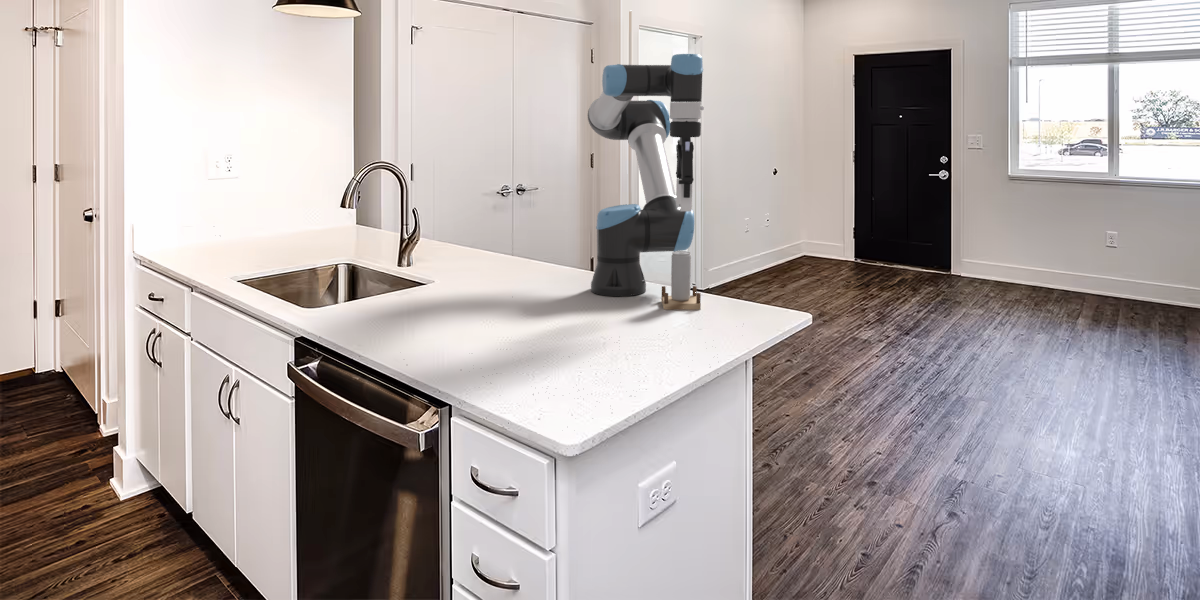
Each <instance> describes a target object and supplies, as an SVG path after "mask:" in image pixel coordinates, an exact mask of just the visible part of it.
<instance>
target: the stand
mask: <svg viewBox="0 0 1200 600" xmlns="http://www.w3.org/2000/svg"><path fill="white" fill-rule="evenodd" d="M666 287H667V286H665V285H663V286H661V297H660V299H661V300H660V301H661V304H662V307H663V310H666V311H667V310H670V311H671V310H672V311H673V310H674V311H675V310H676V311H677V310H681V311H682V310H686V311H688V310H689V311H691V310H701V295H702V294H701V292H697V291H698V290H697V289H698V287H697V286H696V285H693V286H692V295H690V299H689V300H687V301H675V300H673V299H672V298H671V295H669V293H668V292H666V290H667V289H666ZM695 292H696V293H695Z"/></svg>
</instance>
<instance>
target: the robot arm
mask: <svg viewBox="0 0 1200 600" xmlns="http://www.w3.org/2000/svg"><path fill="white" fill-rule="evenodd" d="M703 72H704V68H703V57H702V55H701V54H698V53H678V54H674V55H672V56H671V61H670V64H653V65H652V64H620V63H617V64H609V65H606V66H605V67H604V68H603V71H602V76H601V77H602V80H601V82H602V84H601V85H602V92H601V94H600V96H599V97H598V98H596V99H595V100H594V101H593V102H592V103H591V104H590V106H589V109H588V110H587V121H588V124H589V126H590V127H591V129H592V130H593V131H594V132H595V133H597V135H599V136H600V137H603V138H605V139H608V140H613V141H627V142H628V145H629V147H630V148H631V149H632V150H634V152H635V155H636V161H637V165H638V170H639V175H640V179H641V186H642V189H643V193H644V198H645V199H644V200H645V204H644V206H643V207H641V206H640V205H639V204H636V203H631V204H619V205H613V206H608V207H604V208H602V209H601V210H599V211H598V213H597V215H596V216H597V219H596V226H595V229H596V255H597V256H596V267H595V269H594V273H593V274H592V279H591V282H590V292H591V293H594V294H596V295H599V296H605V297H606V296H607V297H608V296H609V297H628V296H630V297H631V296H636V295H641V294H643V293H646V291H647V282H646V280H645V276H644V272H643V270H642V267H641V263H640V259H641V256H640V255H641V253H659V252H660V253H661V252H664V253H665V252H666V253H667V252H675V251H686V250H687V251H688V249H689V248H690V247H691V246H692V242H693V239H694V233H695V212H694V211H693V209H692V207H693V205H692V204H693V203H692V202H693V183H694V162H693V161H694V160H693V159H694V149H695V147H694V146H695V145H694V143H693V142H694V141H692V138H699V137H701V135H702V130H701V129H702V122H701V121H699V120H700V119H701V118H702V111H704V108H705V107H704V106H703V105H702V97H703V95H702V94H703ZM634 97H670V103H669V110H668V107H667V106H666V104H665V103H664V102H663V101H661V100H652V99H647V100H632V99H633V98H634ZM670 119H671V120H672V121H670ZM668 137H671V138H679V139H677V144H676V145H675V146H676V170H675V171H676V172H675V175H676V186H675V187H676V190H675V187H674V182H673V179H672V175H671V169H670V166H669V162H668V158H667V152H666V149H665V144H664V143H665V142H666V140H667V138H668Z"/></svg>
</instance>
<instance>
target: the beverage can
mask: <svg viewBox="0 0 1200 600" xmlns="http://www.w3.org/2000/svg"><path fill="white" fill-rule="evenodd" d="M671 252H672V253H671V274H670V275H671V279H670V281H671V287H670V288H671V290H670V291H671V294H670V296H671V298H672V299H673V300H675V301H687V300H689V299H690V296H691V271H692V269H691V268H692V266H691V264H692V263H691V261H692V260H691V259H692V256H691V255H692V254H691V251H690V252H689V251H686V250H683V251H675V252H673V251H671Z"/></svg>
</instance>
